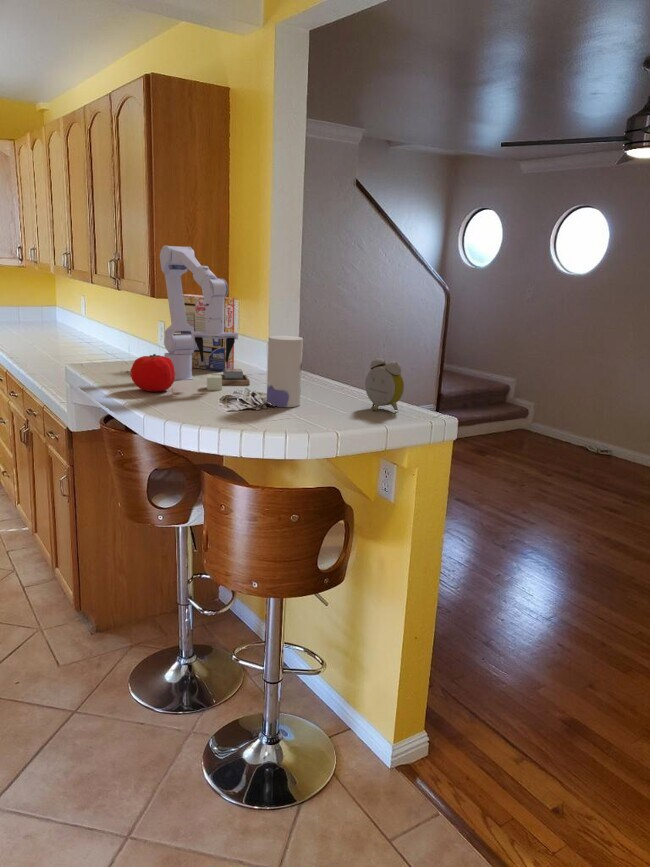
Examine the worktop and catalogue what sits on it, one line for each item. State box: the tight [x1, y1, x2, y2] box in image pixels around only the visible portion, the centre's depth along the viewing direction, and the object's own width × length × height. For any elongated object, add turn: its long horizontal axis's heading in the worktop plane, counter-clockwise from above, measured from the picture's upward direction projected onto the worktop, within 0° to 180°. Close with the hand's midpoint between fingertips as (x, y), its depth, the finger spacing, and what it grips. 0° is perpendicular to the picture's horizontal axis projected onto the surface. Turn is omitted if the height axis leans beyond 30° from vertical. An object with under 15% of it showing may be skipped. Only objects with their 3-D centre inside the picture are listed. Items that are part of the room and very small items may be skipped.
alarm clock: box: [364, 357, 405, 411], centre depth 196 cm, size 12×7×15 cm, turn 43°
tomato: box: [130, 353, 176, 392], centre depth 207 cm, size 12×13×12 cm
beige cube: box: [206, 374, 223, 391], centre depth 214 cm, size 4×4×4 cm
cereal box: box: [183, 294, 235, 372], centre depth 249 cm, size 20×6×27 cm, turn 65°
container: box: [266, 334, 304, 408], centre depth 197 cm, size 10×10×20 cm
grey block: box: [222, 368, 244, 380], centre depth 226 cm, size 6×6×4 cm
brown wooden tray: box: [210, 373, 251, 387], centre depth 226 cm, size 12×11×2 cm
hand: (214, 361), depth 212 cm, fingers open, 7 cm apart
